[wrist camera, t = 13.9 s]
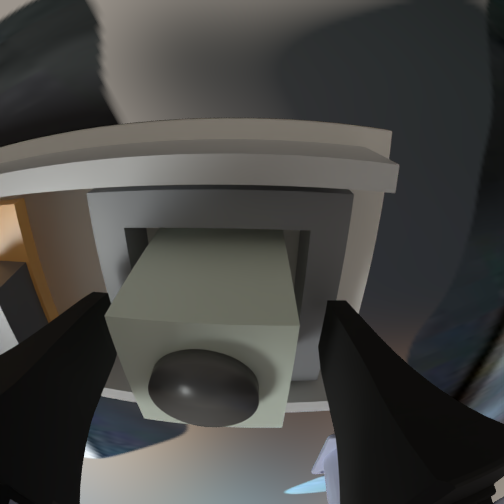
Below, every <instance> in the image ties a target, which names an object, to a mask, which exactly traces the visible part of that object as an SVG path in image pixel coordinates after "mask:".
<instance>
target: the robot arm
mask: <svg viewBox="0 0 504 504" xmlns="http://www.w3.org/2000/svg"><path fill="white" fill-rule="evenodd" d="M110 305H111V302H110V298H109V295H108V293H103V292H92V293H90V294H88V295H87V296H85V297H84V298H82V299H81V300H79V301H78V302H77V303H75V304H74V305H73V306H71V307H70V308H68V309H67V310H66V311H64V312H63V313H62V314H60V315H59V316H58V317H56V318H55V319H54V320H52V321H51V322H50V323H48V324H47V325H45V326H44V327H43V328H41V329H40V330H38V331H37V332H35V333H34V334H33V335H31V336H30V337H28V338H27V339H25V340H24V341H22V342H21V343H19V344H18V345H16V346H15V347H13V348H11V349H9V350H8V351H6V352H4V353H3V354H1V355H0V504H80V483H81V473H82V465H83V458H84V452H85V447H86V442H87V437H88V433H89V429H90V425H91V421H92V418H93V415H94V412H95V409H96V407H97V404H98V402H99V399H100V397H101V394H102V392H103V389H104V387H105V385H106V382H107V380H108V377H109V375H110V372H111V370H112V368H113V365H114V363H115V359H116V356H117V352H116V349H115V346H114V343H113V340H112V338H111V335H110V332H109V329H108V326H107V323H106V320H105V314H106V312H107V310H108V309H109V307H110ZM318 350H319V360H320V369H321V375H322V379H323V384H324V388H325V392H326V396H327V401H328V405H329V409H330V413H331V418H332V422H333V426H334V431H335V434H332V435H330V436H328V438H327V439H326V441H325V444H324V446H323V448H322V450H321V452H320V454H319V456H318V458H317V460H316V462H315V464H314V466H313V468H312V474H323V473H324V475H325V483H326V491H327V500H328V504H504V497H502V498H500V499H499V500H497V501H495V502H494V503H493V502H492V499H491V496H492V495H494V494H495V493H496V489H495V486H494V483H495V482H497V481H498V480H499V479H501V478H502V477H503V476H504V424H503V423H500V422H498V421H495V420H493V419H491V418H488V417H486V416H484V415H482V414H480V413H478V412H476V411H475V410H473V409H471V408H469V407H467V406H465V405H464V404H462V403H460V402H459V401H457V400H455V399H454V398H452V397H451V396H449V395H448V394H446V393H445V392H443V391H442V390H440V389H439V388H437V387H436V386H435V385H433V384H432V383H430V382H429V381H428V380H427V379H425V378H424V377H423V376H422V375H420V374H419V373H418V372H417V371H415V370H414V369H413V368H412V367H411V366H409V365H408V364H407V363H406V362H405V361H404V360H403V359H401V357H400V356H398V355H397V354H396V353H395V352H394V351H393V350H392V349H391V348H390V347H389V346H388V345H387V344H386V343H385V342H384V341H383V340H382V339H381V338H380V337H379V336H378V335H377V334H376V333H375V332H374V330H373V329H372V328H371V327H370V326H369V325H368V324H367V323H366V322H365V321H364V320H363V319H362V317H361V316H360V315H359V314H358V313H357V312H356V311H355V310H354V309H353V307H352V306H351V305H350V304H349V303H348V302H347V301H346V300H327V306H326V311H325V316H324V321H323V326H322V330H321V335H320V340H319V344H318Z"/></svg>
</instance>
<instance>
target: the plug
mask: <svg viewBox="0 0 504 504" xmlns="http://www.w3.org/2000/svg"><path fill="white" fill-rule="evenodd" d="M105 320H106V323H107V326H108V329H109V332H110V335H111V338H112V340H113V343H114V346H115V349H116V352H117V354H118V357H119V360H120V362H121V365H122V367H123V370H124V372H125V375H126V377H127V380H128V382H129V385H130V387H131V390H132V392H133V394H134V397H135V399H136V401H137V403H138V406H139V408H140V410H141V412H142V414H143V417H144V418H146V419H152V420H159V421H167V422H175V423H184V424H193V425H197V426H204V427H245V428H246V427H247V428H281V427H282V425H283V420H284V415H285V410H286V405H287V399H288V394H289V389H290V383H291V377H292V372H293V366H294V360H295V354H296V348H297V341H298V335H299V328H300V323H299V317H298V311H297V305H296V300H295V294H294V288H293V282H292V277H291V271H290V266H289V260H288V255H287V249H286V244H285V239H284V234H283V230H275V229H228V228H159V229H158V231H157V232H156V234H155V235H154V237H153V238H152V240H151V241H150V243H149V244H148V246H147V247H146V249H145V250H144V252H143V253H142V255H141V256H140V258H139V260H138V261H137V263H136V264H135V266H134V267H133V269H132V271H131V272H130V274H129V275H128V277H127V279H126V280H125V282H124V284H123V285H122V287H121V289H120V290H119V292H118V293H117V295H116V297H115V299H114V300H113V302H112V304H111V305H110V307H109V309H108V310H107V312H106V314H105Z"/></svg>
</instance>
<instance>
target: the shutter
mask: <svg viewBox="0 0 504 504" xmlns="http://www.w3.org/2000/svg"><path fill="white" fill-rule="evenodd" d="M58 316H59V314H58V312H57V309H56V307H55V304H54V301H53V299H52V296H51V293H50V290H49V287H48V284H47V282H46V279H45V275H44V272H43V269H42V266H41V263H40V259H39V256H38V253H37V249H36V246H35V242H34V238H33V234H32V230H31V226H30V222H29V218H28V214H27V209H26V204H25V199H24V198H18V199H9V200H0V355H1V354H3V353H4V352H6V351H8V350H9V349H11V348H13V347H15V346H16V345H18V344H19V343H21V342H22V341H24V340H25V339H27V338H28V337H30V336H31V335H33V334H34V333H35V332H37V331H38V330H40V329H41V328H43V327H44V326H45V325H47V324H48V323H50V322H51V321H52V320H54V319H55V318H56V317H58Z"/></svg>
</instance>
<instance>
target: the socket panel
mask: <svg viewBox="0 0 504 504" xmlns="http://www.w3.org/2000/svg"><path fill="white" fill-rule="evenodd" d="M391 138H392V131H389V130H386V129H379V128H373V127H365V126H358V125H350V124H341V123H331V122H321V121H308V120H293V119H272V118H196V119H175V120H159V121H149V122H137V123H127V124H118V125H110V126H103V127H96V128H89V129H83V130H77V131H71V132H65V133H60V134H55V135H50V136H45V137H40V138H35V139H31V140H27V141H22V142H18V143H14V144H10V145H7V146H3V147H0V200H9V199H18V198H24V199H25V204H26V209H27V214H28V218H29V222H30V226H31V230H32V234H33V238H34V242H35V246H36V249H37V253H38V256H39V259H40V263H41V266H42V269H43V272H44V275H45V279H46V282H47V284H48V287H49V290H50V293H51V296H52V299H53V301H54V304H55V307H56V309H57V312H58V314H59V315H60V314H62V313H63V312H64V311H66V310H67V309H68V308H70V307H71V306H73V305H74V304H75V303H77V302H78V301H79V300H81V299H82V298H84V297H85V296H87V295H88V294H90V293H92V292H103V293H108V295H109V298H110V302H111V304H112V302H113V300H114V299H115V297H116V295H117V293H118V292H119V290H120V289H121V287H122V285H123V284H124V282H125V280H126V279H127V277H128V275H129V274H130V272H131V271H132V269H133V267H134V266H135V264H136V263H137V261H138V260H139V258H140V256H141V255H142V253H143V252H144V250H145V249H146V247H147V246H148V244H149V243H150V241H151V240H152V238H153V237H154V235H155V234H156V232H157V231H158V229H159V228H228V229H275V230H283V234H284V239H285V244H286V249H287V255H288V260H289V266H290V271H291V277H292V282H293V288H294V294H295V300H296V305H297V311H298V317H299V323H300V328H299V335H298V341H297V348H296V354H295V360H294V366H293V372H292V377H291V383H290V389H289V394H288V399H287V405H286V410H285V412H310V411H326V410H330V409H329V405H328V401H327V396H326V392H325V388H324V384H323V379H322V375H321V369H320V360H319V350H318V344H319V340H320V335H321V330H322V326H323V321H324V316H325V311H326V306H327V300H346V301H347V302H348V303H349V304H350V305H351V306H352V307H353V309H354V310H355V311H356V312H357V313H359V310H360V306H361V303H362V299H363V295H364V291H365V286H366V283H367V278H368V274H369V270H370V266H371V261H372V256H373V252H374V247H375V242H376V237H377V231H378V227H379V221H380V216H381V210H382V204H383V198H384V192H388V193H395V192H396V185H397V179H398V172H399V164H397V163H395V162H393V161H391V160H390V159H389V156H390V146H391ZM101 396H104V397H109V398H114V399H120V400H125V401H131V402H137V401H136V399H135V397H134V394H133V392H132V390H131V387H130V385H129V382H128V380H127V377H126V375H125V372H124V370H123V367H122V365H121V362H120V360H119V357H118V354H117V356H116V359H115V363H114V365H113V368H112V370H111V372H110V375H109V377H108V380H107V382H106V385H105V387H104V389H103V392H102V394H101Z"/></svg>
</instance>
